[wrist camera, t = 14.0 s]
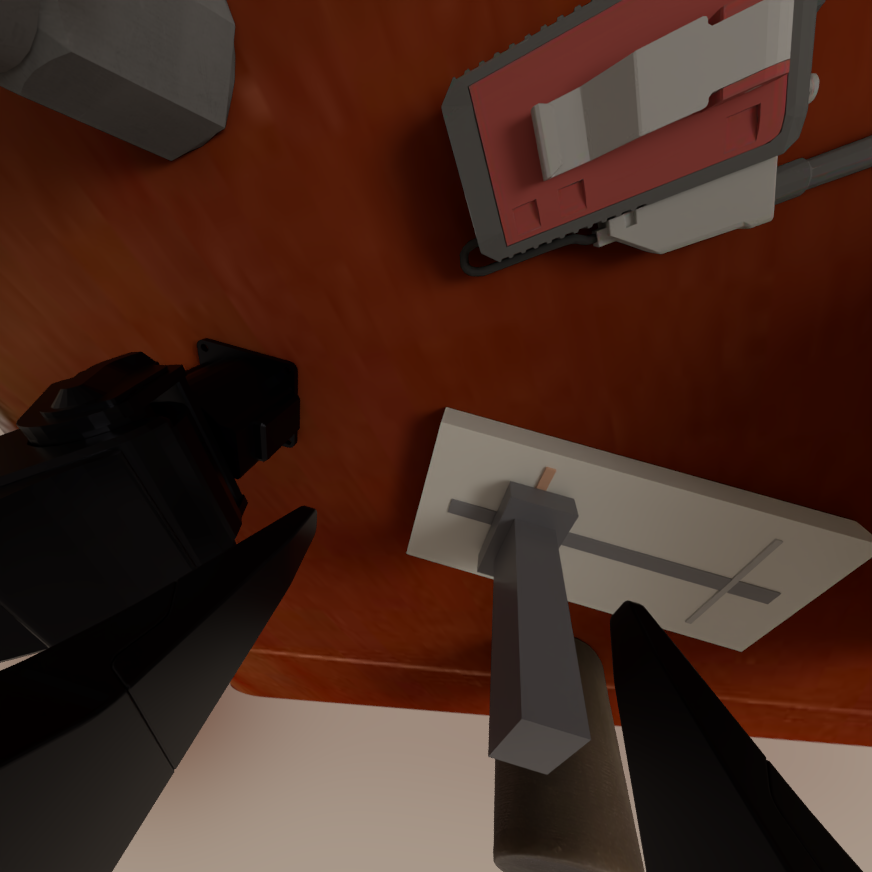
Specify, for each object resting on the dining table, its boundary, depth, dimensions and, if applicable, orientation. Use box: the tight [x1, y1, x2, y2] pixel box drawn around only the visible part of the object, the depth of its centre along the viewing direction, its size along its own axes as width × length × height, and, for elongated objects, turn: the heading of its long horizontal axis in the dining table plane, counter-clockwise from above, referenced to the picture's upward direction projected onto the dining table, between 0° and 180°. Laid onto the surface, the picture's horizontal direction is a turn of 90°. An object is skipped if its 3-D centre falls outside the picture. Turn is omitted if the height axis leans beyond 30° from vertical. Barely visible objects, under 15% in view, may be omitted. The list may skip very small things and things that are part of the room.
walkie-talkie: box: [441, 0, 872, 277], centre depth 12 cm, size 9×4×20 cm
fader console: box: [406, 407, 872, 652], centre depth 24 cm, size 26×12×2 cm, turn 77°
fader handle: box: [477, 481, 591, 775], centre depth 18 cm, size 4×7×12 cm, turn 167°
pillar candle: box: [493, 638, 644, 872], centre depth 28 cm, size 10×10×15 cm
